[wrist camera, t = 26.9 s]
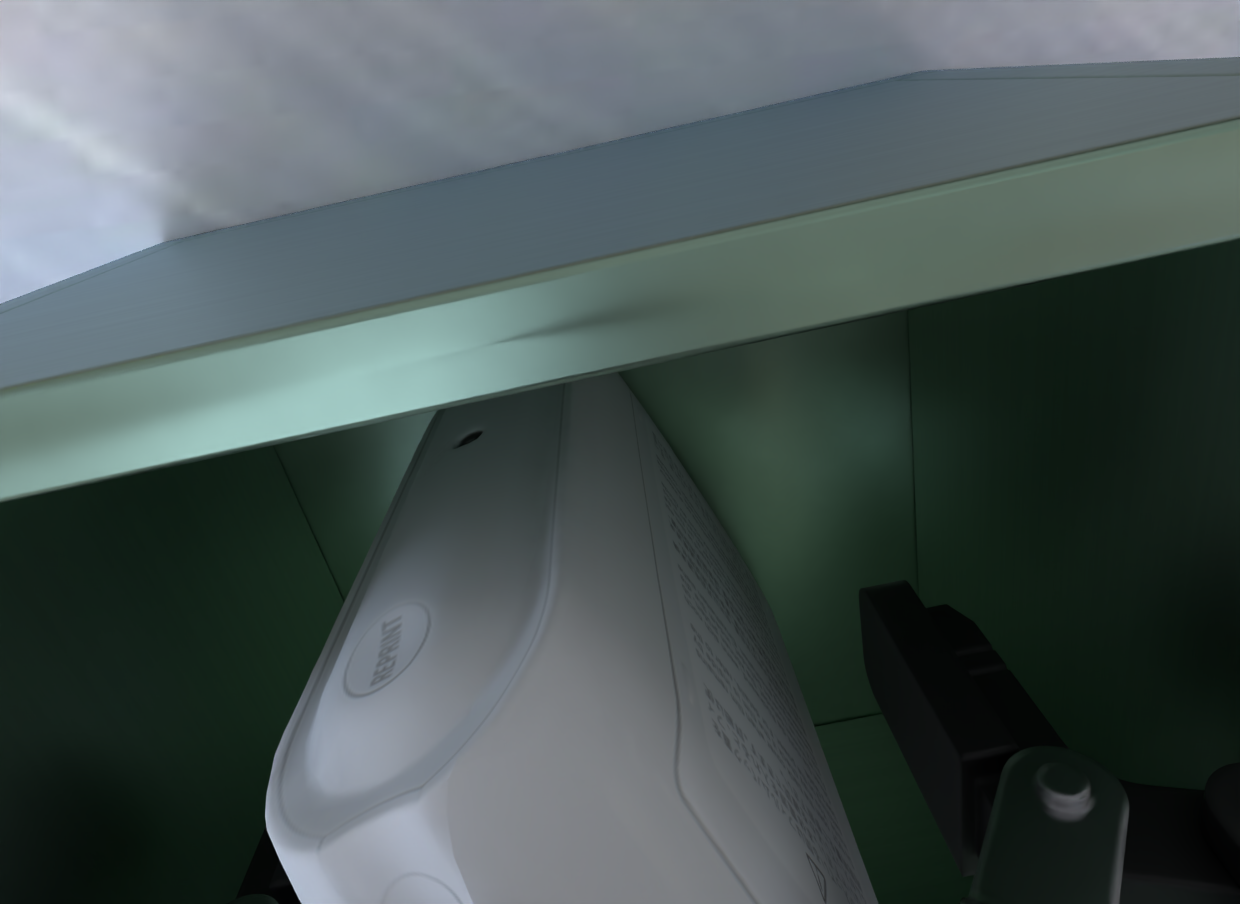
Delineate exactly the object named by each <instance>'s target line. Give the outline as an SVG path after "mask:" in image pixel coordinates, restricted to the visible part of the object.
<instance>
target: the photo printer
mask: <svg viewBox="0 0 1240 904" xmlns="http://www.w3.org/2000/svg"><path fill="white" fill-rule="evenodd" d="M265 820H266V828H267V832H268V834H269V837H270V839H271V841H272V844H273V846H274V848H275V850H276V853H277V855H278V857H279V860H280V862H281V864H282V866H283V868H284V870H285V872H286V874H287V876H288V878H289V880H290V882H291V884H292V886H293V888H294V890H295V892H296V894H297V896H298V898H299V900H300V902H301V904H878V901H877V898H876V896H875V893H874V890H873V888H872V885H871V882H870V879H869V877H868V874H867V871H866V868H865V866H864V863H863V860H862V857H861V855H860V852H859V849H858V846H857V844H856V841H855V838H854V835H853V833H852V830H851V827H850V824H849V821H848V819H847V816H846V813H845V810H844V808H843V805H842V802H841V799H840V797H839V794H838V791H837V788H836V786H835V783H834V780H833V777H832V774H831V772H830V769H829V766H828V763H827V761H826V758H825V755H824V752H823V750H822V747H821V744H820V741H819V738H818V736H817V733H816V730H815V727H814V725H813V722H812V719H811V716H810V714H809V711H808V708H807V705H806V702H805V700H804V697H803V694H802V691H801V689H800V686H799V683H798V680H797V677H796V675H795V672H794V669H793V666H792V664H791V661H790V658H789V655H788V653H787V650H786V647H785V644H784V641H783V639H782V636H781V633H780V630H779V627H778V625H777V623H776V620H775V617H774V615H773V612H772V610H771V608H770V606H769V604H768V602H767V600H766V598H765V596H764V594H763V593H762V591H761V589H760V588H759V586H758V584H757V582H756V581H755V579H754V577H753V576H752V574H751V572H750V570H749V569H748V567H747V565H746V564H745V562H744V561H743V559H742V557H741V556H740V554H739V552H738V550H737V548H736V547H735V546H734V544H733V543H732V541H731V539H730V538H729V536H728V535H727V533H726V531H725V530H724V528H723V527H722V525H721V524H720V522H719V520H718V519H717V517H716V516H715V514H714V512H713V511H712V509H711V508H710V506H709V505H708V503H707V502H706V500H705V499H704V497H703V496H702V494H701V493H700V491H699V490H698V488H697V487H696V485H695V484H694V482H693V481H692V479H691V478H690V476H689V475H688V473H687V472H686V470H685V469H684V467H683V466H682V464H681V462H680V461H679V459H678V458H677V456H676V455H675V453H674V452H673V450H672V449H671V447H670V445H669V444H668V442H667V441H666V440H665V438H664V437H663V435H662V434H661V433H660V431H659V430H658V428H657V427H656V425H655V424H654V422H653V421H652V419H651V418H650V416H649V415H648V414H647V412H646V411H645V409H644V408H643V406H642V405H641V404H640V402H639V401H638V399H637V398H636V397H635V395H634V394H633V393H632V391H631V390H630V388H629V387H628V386H627V384H626V383H625V381H624V380H623V379H622V377H621V376H620V375H619V373H618V372H615V373H611V374H606V375H601V376H597V377H592V378H587V379H583V380H578V381H573V382H568V383H564V384H559V385H554V386H550V387H545V388H540V389H535V390H531V391H526V392H521V393H517V394H512V395H507V396H503V397H498V398H493V399H488V400H484V401H479V402H474V403H470V404H465V405H460V406H456V407H451V408H446V409H441V410H438V411H437V412H436V414H435V415H434V417H433V418H432V420H431V421H430V423H429V425H428V427H427V429H426V431H425V433H424V434H423V437H422V439H421V441H420V443H419V444H418V446H417V449H416V451H415V453H414V455H413V457H412V460H411V462H410V464H409V466H408V468H407V470H406V472H405V474H404V476H403V478H402V481H401V483H400V485H399V487H398V489H397V491H396V494H395V496H394V498H393V500H392V503H391V505H390V507H389V509H388V511H387V513H386V515H385V517H384V519H383V521H382V523H381V525H380V528H379V530H378V532H377V534H376V536H375V538H374V540H373V542H372V545H371V547H370V549H369V551H368V553H367V555H366V558H365V560H364V562H363V564H362V566H361V568H360V570H359V572H358V575H357V577H356V579H355V581H354V583H353V585H352V587H351V590H350V592H349V594H348V596H347V598H346V600H345V602H344V604H343V606H342V608H341V610H340V612H339V614H338V617H337V619H336V621H335V623H334V626H333V628H332V630H331V632H330V635H329V637H328V639H327V641H326V643H325V646H324V648H323V650H322V652H321V655H320V657H319V659H318V661H317V663H316V665H315V667H314V669H313V671H312V673H311V675H310V678H309V680H308V682H307V684H306V687H305V689H304V691H303V693H302V695H301V697H300V700H299V702H298V704H297V706H296V708H295V710H294V712H293V714H292V716H291V719H290V721H289V723H288V725H287V727H286V729H285V731H284V733H283V736H282V738H281V741H280V743H279V746H278V748H277V751H276V753H275V757H274V761H273V766H272V770H271V775H270V780H269V784H268V789H267V794H266V809H265Z"/></svg>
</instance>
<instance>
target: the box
mask: <svg viewBox="0 0 1240 904" xmlns="http://www.w3.org/2000/svg"><path fill="white" fill-rule="evenodd" d="M615 372H618V373H619V375H620V376H621V377H622V379H623V380H624V381H625V383H626V384H627V386H628V387H629V388H630V390H631V391H632V393H633V394H634V395H635V397H636V398H637V399H638V401H639V402H640V404H641V405H642V406H643V408H644V409H645V411H646V412H647V414H648V415H649V416H650V418H651V419H652V421H653V422H654V424H655V425H656V427H657V428H658V430H659V431H660V433H661V434H662V435H663V437H664V438H665V440H666V441H667V442H668V444H669V445H670V447H671V449H672V450H673V452H674V453H675V455H676V456H677V458H678V459H679V461H680V462H681V464H682V466H683V467H684V469H685V470H686V472H687V473H688V475H689V476H690V478H691V479H692V481H693V482H694V484H695V485H696V487H697V488H698V490H699V491H700V493H701V494H702V496H703V497H704V499H705V500H706V502H707V503H708V505H709V506H710V508H711V509H712V511H713V512H714V514H715V516H716V517H717V519H718V520H719V522H720V524H721V525H722V527H723V528H724V530H725V531H726V533H727V535H728V536H729V538H730V539H731V541H732V543H733V544H734V546H735V547H736V548H737V550H738V552H739V554H740V556H741V557H742V559H743V561H744V562H745V564H746V565H747V567H748V569H749V570H750V572H751V574H752V576H753V577H754V579H755V581H756V582H757V584H758V586H759V588H760V589H761V591H762V593H763V594H764V596H765V598H766V600H767V602H768V604H769V606H770V608H771V610H772V612H773V615H774V617H775V620H776V623H777V625H778V627H779V630H780V633H781V636H782V639H783V641H784V644H785V647H786V650H787V653H788V655H789V658H790V661H791V664H792V666H793V669H794V672H795V675H796V677H797V680H798V683H799V686H800V689H801V691H802V694H803V697H804V700H805V702H806V705H807V708H808V711H809V714H810V716H811V719H812V722H813V725H814V727H815V730H816V733H817V736H818V738H819V741H820V744H821V747H822V750H823V752H824V755H825V758H826V761H827V763H828V766H829V769H830V772H831V774H832V777H833V780H834V783H835V786H836V788H837V791H838V794H839V797H840V799H841V802H842V805H843V808H844V810H845V813H846V816H847V819H848V821H849V824H850V827H851V830H852V833H853V835H854V838H855V841H856V844H857V846H858V849H859V852H860V855H861V857H862V860H863V863H864V866H865V868H866V871H867V874H868V877H869V879H870V882H871V885H872V888H873V890H874V893H875V896H876V898H877V901H878V904H959V902H960V900H961V899H962V898H963V897H965V898H967V897H968V895H969V893H970V890H971V886H972V883H973V879H974V875H971V876H966V877H962V875H961V873H960V871H959V869H958V867H957V864H956V862H955V860H954V858H953V856H952V854H951V852H950V850H949V848H948V846H947V844H946V842H945V840H944V838H943V836H942V834H941V832H940V830H939V828H938V826H937V824H936V821H935V819H934V817H933V815H932V813H931V811H930V809H929V807H928V805H927V803H926V801H925V799H924V797H923V795H922V793H921V791H920V789H919V787H918V785H917V783H916V781H915V779H914V776H913V774H912V772H911V770H910V768H909V766H908V764H907V762H906V760H905V758H904V756H903V754H902V752H901V750H900V748H899V746H898V744H897V742H896V740H895V738H894V736H893V734H892V731H891V729H890V727H889V725H888V723H887V721H886V719H885V717H884V715H883V713H882V711H881V709H880V707H879V705H878V703H877V701H876V699H875V697H874V694H873V692H872V689H871V686H870V683H869V680H868V677H867V673H866V669H865V664H864V656H863V644H862V632H861V620H860V608H859V590H860V589H861V588H865V587H870V586H875V585H880V584H885V583H890V582H895V581H900V580H906V581H907V582H908V583H909V584H910V585H911V587H912V588H913V590H914V591H915V593H916V594H917V596H918V597H919V599H920V600H921V602H922V603H923V604H924V606H925V607H926V608H928V607H933V606H938V605H943V604H947V605H949V606H950V607H952V608H954V609H955V610H957V611H958V612H960V613H961V614H963V615H964V616H966V617H968V618H969V619H971V620H972V621H974V622H975V623H976V625H977V626H978V627H979V629H980V630H981V632H982V633H983V634H984V636H985V637H986V638H987V640H988V641H989V642H990V644H991V645H992V649H993V650H996V652H997V653H998V654H999V656H1000V657H1001V658H1002V660H1003V661H1004V662H1005V664H1006V667H1007V669H1008V670H1010V671H1011V672H1012V673H1013V675H1014V676H1015V677H1016V679H1017V680H1018V681H1019V683H1020V684H1021V685H1022V687H1023V688H1024V689H1025V691H1026V692H1027V693H1028V695H1029V696H1030V698H1031V699H1032V700H1033V702H1034V703H1035V704H1036V706H1037V707H1038V708H1039V710H1040V711H1041V712H1042V714H1043V715H1044V716H1045V718H1046V719H1047V720H1048V722H1049V723H1050V724H1051V726H1052V727H1053V729H1054V730H1055V731H1056V733H1057V734H1058V735H1059V737H1060V738H1061V739H1062V741H1063V742H1064V743H1065V744H1066V746H1067V747H1068V748H1069V749H1071V750H1074V751H1077V752H1080V753H1082V754H1085V755H1087V756H1089V757H1091V758H1093V759H1094V760H1096V761H1098V762H1099V763H1101V764H1102V765H1103V766H1105V767H1106V768H1107V769H1108V770H1110V771H1111V772H1112V773H1113V774H1114V775H1115V776H1116V778H1118V779H1121V780H1125V781H1129V782H1133V783H1138V784H1145V785H1154V786H1165V787H1175V788H1186V789H1197V790H1205V785H1206V783H1207V780H1208V778H1209V777H1210V775H1211V774H1212V773H1213V772H1214V771H1216V770H1217V769H1218V768H1220V767H1223V766H1225V765H1228V764H1232V763H1237V762H1240V57H1229V58H1205V59H1182V60H1159V61H1135V62H1112V63H1088V64H1065V65H1042V66H1018V67H995V68H971V69H948V70H927V71H920V72H916V73H911V74H907V75H902V76H898V77H893V78H889V79H885V80H880V81H876V82H871V83H867V84H862V85H858V86H854V87H849V88H845V89H840V90H836V91H831V92H827V93H823V94H818V95H814V96H809V97H805V98H800V99H796V100H792V101H787V102H783V103H778V104H774V105H769V106H765V107H761V108H756V109H752V110H747V111H743V112H738V113H734V114H730V115H725V116H721V117H716V118H712V119H707V120H703V121H699V122H694V123H690V124H685V125H681V126H676V127H672V128H668V129H663V130H659V131H654V132H650V133H645V134H641V135H637V136H632V137H628V138H623V139H619V140H614V141H610V142H606V143H601V144H597V145H592V146H588V147H584V148H579V149H575V150H570V151H566V152H561V153H557V154H553V155H548V156H544V157H539V158H535V159H530V160H526V161H522V162H517V163H513V164H508V165H504V166H499V167H495V168H491V169H486V170H482V171H477V172H473V173H468V174H464V175H460V176H455V177H451V178H446V179H442V180H437V181H433V182H429V183H424V184H420V185H415V186H411V187H406V188H402V189H398V190H393V191H389V192H384V193H380V194H375V195H371V196H367V197H362V198H358V199H353V200H349V201H344V202H340V203H336V204H331V205H327V206H322V207H318V208H313V209H309V210H305V211H300V212H296V213H291V214H287V215H282V216H278V217H274V218H269V219H265V220H260V221H256V222H251V223H247V224H243V225H238V226H234V227H229V228H225V229H220V230H216V231H212V232H207V233H203V234H198V235H194V236H189V237H185V238H181V239H176V240H172V241H167V242H163V243H160V244H157V245H155V246H152V247H149V248H147V249H144V250H142V251H139V252H136V253H133V254H131V255H128V256H125V257H123V258H120V259H117V260H115V261H112V262H110V263H107V264H104V265H102V266H99V267H96V268H94V269H91V270H88V271H86V272H83V273H81V274H78V275H75V276H73V277H70V278H67V279H65V280H62V281H59V282H57V283H54V284H52V285H49V286H46V287H44V288H41V289H38V290H36V291H33V292H30V293H28V294H25V295H23V296H20V297H17V298H15V299H12V300H9V301H7V302H4V303H1V304H0V904H226V903H228V902H230V901H232V900H234V899H235V898H236V896H237V894H238V892H239V889H240V887H241V884H242V882H243V880H244V877H245V875H246V872H247V870H248V868H249V865H250V863H251V860H252V858H253V856H254V853H255V851H256V848H257V846H258V844H259V841H260V839H261V836H262V834H263V832H264V829H265V827H266V820H265V809H266V794H267V789H268V784H269V780H270V775H271V770H272V766H273V761H274V757H275V753H276V751H277V748H278V746H279V743H280V741H281V738H282V736H283V733H284V731H285V729H286V727H287V725H288V723H289V721H290V719H291V716H292V714H293V712H294V710H295V708H296V706H297V704H298V702H299V700H300V697H301V695H302V693H303V691H304V689H305V687H306V684H307V682H308V680H309V678H310V675H311V673H312V671H313V669H314V667H315V665H316V663H317V661H318V659H319V657H320V655H321V652H322V650H323V648H324V646H325V643H326V641H327V639H328V637H329V635H330V632H331V630H332V628H333V626H334V623H335V621H336V619H337V617H338V614H339V612H340V610H341V608H342V606H343V604H344V602H345V600H346V598H347V596H348V594H349V592H350V590H351V587H352V585H353V583H354V581H355V579H356V577H357V575H358V572H359V570H360V568H361V566H362V564H363V562H364V560H365V558H366V555H367V553H368V551H369V549H370V547H371V545H372V542H373V540H374V538H375V536H376V534H377V532H378V530H379V528H380V525H381V523H382V521H383V519H384V517H385V515H386V513H387V511H388V509H389V507H390V505H391V503H392V500H393V498H394V496H395V494H396V491H397V489H398V487H399V485H400V483H401V481H402V478H403V476H404V474H405V472H406V470H407V468H408V466H409V464H410V462H411V460H412V457H413V455H414V453H415V451H416V449H417V446H418V444H419V443H420V441H421V439H422V437H423V434H424V433H425V431H426V429H427V427H428V425H429V423H430V421H431V420H432V418H433V417H434V415H435V414H436V412H437V411H438V410H441V409H446V408H451V407H456V406H460V405H465V404H470V403H474V402H479V401H484V400H488V399H493V398H498V397H503V396H507V395H512V394H517V393H521V392H526V391H531V390H535V389H540V388H545V387H550V386H554V385H559V384H564V383H568V382H573V381H578V380H583V379H587V378H592V377H597V376H601V375H606V374H611V373H615Z"/></svg>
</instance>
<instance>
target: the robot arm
mask: <svg viewBox="0 0 1240 904" xmlns="http://www.w3.org/2000/svg"><path fill="white" fill-rule="evenodd" d="M859 608H860V620H861V632H862V644H863V656H864V664H865V669H866V673H867V677H868V680H869V683H870V686H871V689H872V692H873V694H874V697H875V699H876V701H877V703H878V705H879V707H880V709H881V711H882V713H883V715H884V717H885V719H886V721H887V723H888V725H889V727H890V729H891V731H892V734H893V736H894V738H895V740H896V742H897V744H898V746H899V748H900V750H901V752H902V754H903V756H904V758H905V760H906V762H907V764H908V766H909V768H910V770H911V772H912V774H913V776H914V779H915V781H916V783H917V785H918V787H919V789H920V791H921V793H922V795H923V797H924V799H925V801H926V803H927V805H928V807H929V809H930V811H931V813H932V815H933V817H934V819H935V821H936V824H937V826H938V828H939V830H940V832H941V834H942V836H943V838H944V840H945V842H946V844H947V846H948V848H949V850H950V852H951V854H952V856H953V858H954V860H955V862H956V864H957V867H958V869H959V871H960V873H961V875H962V877H966V876H971V875H974V879H973V883H972V886H971V890H970V893H969V895H968V897H967V898H965V897H963V898H962V899H961V900H960V902H959V904H1240V762H1237V763H1232V764H1228V765H1225V766H1223V767H1220V768H1218V769H1217V770H1216V771H1214V772H1213V773H1212V774H1211V775H1210V777H1209V778H1208V780H1207V783H1206V785H1205V790H1197V789H1186V788H1175V787H1165V786H1154V785H1145V784H1138V783H1133V782H1129V781H1125V780H1121V779H1118V778H1116V776H1115V775H1114V774H1113V773H1112V772H1111V771H1110V770H1108V769H1107V768H1106V767H1105V766H1103V765H1102V764H1101V763H1099V762H1098V761H1096V760H1094V759H1093V758H1091V757H1089V756H1087V755H1085V754H1082V753H1080V752H1077V751H1074V750H1071V749H1069V748H1068V747H1067V746H1066V744H1065V743H1064V742H1063V741H1062V739H1061V738H1060V737H1059V735H1058V734H1057V733H1056V731H1055V730H1054V729H1053V727H1052V726H1051V724H1050V723H1049V722H1048V720H1047V719H1046V718H1045V716H1044V715H1043V714H1042V712H1041V711H1040V710H1039V708H1038V707H1037V706H1036V704H1035V703H1034V702H1033V700H1032V699H1031V698H1030V696H1029V695H1028V693H1027V692H1026V691H1025V689H1024V688H1023V687H1022V685H1021V684H1020V683H1019V681H1018V680H1017V679H1016V677H1015V676H1014V675H1013V673H1012V672H1011V671H1010V670H1008V669H1007V667H1006V664H1005V662H1004V661H1003V660H1002V658H1001V657H1000V656H999V654H998V653H997V652H996V650H993V649H992V645H991V644H990V642H989V641H988V640H987V638H986V637H985V636H984V634H983V633H982V632H981V630H980V629H979V627H978V626H977V625H976V623H975V622H974V621H972V620H971V619H969V618H968V617H966V616H964V615H963V614H961V613H960V612H958V611H957V610H955V609H954V608H952V607H950V606H949V605H947V604H943V605H938V606H933V607H928V608H926V607H925V606H924V604H923V603H922V602H921V600H920V599H919V597H918V596H917V594H916V593H915V591H914V590H913V588H912V587H911V585H910V584H909V583H908V582H907V581H906V580H900V581H895V582H890V583H885V584H880V585H875V586H870V587H865V588H861V589H860V590H859ZM226 904H301V902H300V900H299V898H298V896H297V894H296V892H295V890H294V888H293V886H292V884H291V882H290V880H289V878H288V876H287V874H286V872H285V870H284V868H283V866H282V864H281V862H280V860H279V857H278V855H277V853H276V850H275V848H274V846H273V844H272V841H271V839H270V837H269V834H268V832H267V828H266V827H265V829H264V832H263V834H262V836H261V839H260V841H259V844H258V846H257V848H256V851H255V853H254V856H253V858H252V860H251V863H250V865H249V868H248V870H247V872H246V875H245V877H244V880H243V882H242V884H241V887H240V889H239V892H238V894H237V896H236V898H235V899H234V900H232V901H230V902H228V903H226Z"/></svg>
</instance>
